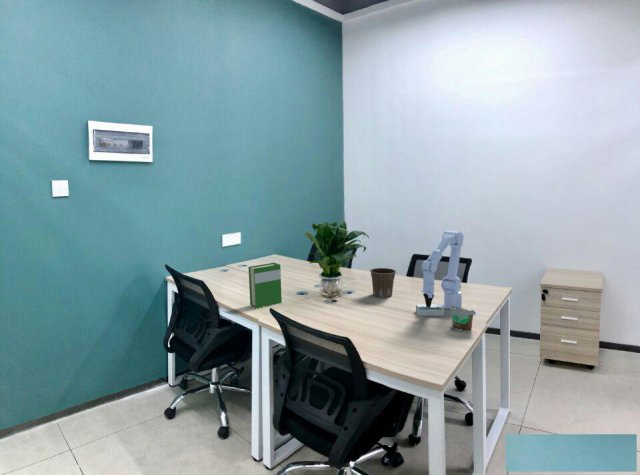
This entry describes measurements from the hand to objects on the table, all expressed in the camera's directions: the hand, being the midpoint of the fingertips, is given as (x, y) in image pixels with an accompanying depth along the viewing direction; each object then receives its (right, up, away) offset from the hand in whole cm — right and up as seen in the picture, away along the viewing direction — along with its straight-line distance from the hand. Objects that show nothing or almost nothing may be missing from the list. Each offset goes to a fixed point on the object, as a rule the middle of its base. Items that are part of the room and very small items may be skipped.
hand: (428, 306), depth 224 cm
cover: (+1, 0, +2) cm, 2 cm away
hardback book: (-92, -3, +26) cm, 96 cm away
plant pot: (-19, +1, +39) cm, 44 cm away
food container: (+10, -7, -20) cm, 24 cm away
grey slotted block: (+1, -4, +2) cm, 5 cm away
